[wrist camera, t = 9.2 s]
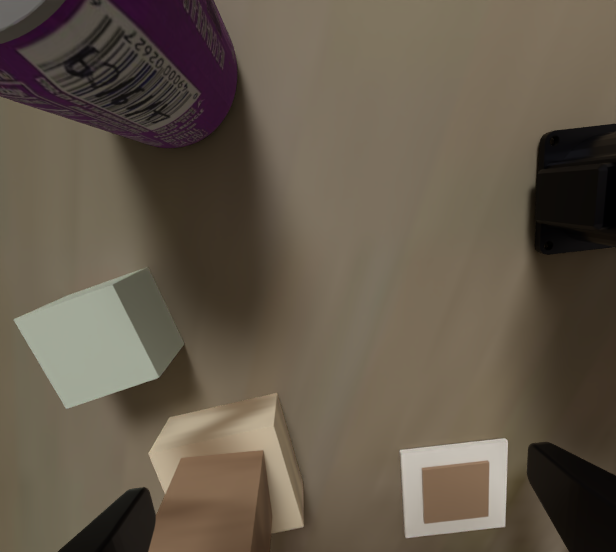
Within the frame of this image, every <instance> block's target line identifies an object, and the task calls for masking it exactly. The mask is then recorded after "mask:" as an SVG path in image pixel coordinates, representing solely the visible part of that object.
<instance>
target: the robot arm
mask: <svg viewBox="0 0 616 552" xmlns="http://www.w3.org/2000/svg"><path fill="white" fill-rule="evenodd" d="M551 137H552V138H553V139H554V143H553V145H551V144H550V139H551ZM535 220H536V234H535V249H536V250H537V252H539V253H542V254H547V255H549V254H558V253H566V252H575V251H584V250H593V249H602V248H611V247H616V124H609V125H600V126H592V127H583V128H574V129H565V130H556V131H552V132H548V133H546V134H544V135H543V136H542V138H541V140H540V148H539V169H538V174H537V187H536V209H535ZM546 242H548V247H547V248H544V245H545V243H546ZM527 476H528V479H529V482H530V484H531V486H532V488H533V489H534V491H535V493H536V495H537V496H538V498H539V500H540V502H541V503H542V505H543V507H544V509H545V510H546V512H547V514H548V516H549V517H550V519H551V521H552V523H553V524H554V526H555V528H556V530H557V531H558V533H559V535H560V537H561V539H562V540H563V542H564V544H565V545H566V547H567V549H568V550H569V552H616V476H615V475H613V474H611V473H609V472H607V471H605V470H603V469H601V468H599V467H597V466H595V465H593V464H591V463H589V462H587V461H585V460H583V459H581V458H580V457H578V456H576V455H574V454H572V453H570V452H568V451H566V450H564V449H562V448H560V447H558V446H556V445H554V444H552V443H549V442H539V443H532V444H530V445H529V447H528V460H527ZM155 523H156V515H155V510H154V507H153V503H152V499H151V495H150V492H149V490H148V489H147V488H145V487H143V488H134V489H129V490H128V491H126V492H125V493H124V494H123V495H122V496H120V497H119V498H118V499H117V500H116V501H115V502H114V503H113V504H111V505H110V506H109V507H108V508H107V509H106V510H105V511H103V512H102V513H101V514H100V515H99V516H98V517H97V518H95V519H94V520H93V521H92V522H91V523H90V524H89V525H87V526H86V527H85V528H84V529H83V530H82V531H81V532H80V533H78V534H77V535H76V536H75V537H74V538H73V539H72V540H70V541H69V542H68V543H67V544H66V545H65V546H64V547H62V548H61V549H60V550H59V551H58V552H148V551H149V547H150V544H151V540H152V536H153V532H154V529H155Z"/></svg>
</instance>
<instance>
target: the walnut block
mask: <svg viewBox="0 0 616 552" xmlns="http://www.w3.org/2000/svg"><path fill="white" fill-rule="evenodd" d="M271 530H272V509H271V502H270V494H269V487H268V480H267V473H266V465H265V458H264V451H263V450H258V451H247V452H237V453H226V454H216V455H206V456H196V457H185V458H181V459H180V462H179V464H178V466H177V469H176V471H175V473H174V475H173V478H172V480H171V482H170V485H169V487H168V489H167V491H166V494H165V496H164V498H163V501H162V503H161V505H160V508H159V510H158V512H157V514H156V523H155V529H154V532H153V536H152V540H151V544H150V547H149V551H148V552H270V543H271Z"/></svg>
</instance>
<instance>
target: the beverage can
mask: <svg viewBox="0 0 616 552" xmlns="http://www.w3.org/2000/svg"><path fill="white" fill-rule="evenodd" d="M236 86H237V62H236V56H235V51H234V47H233V44H232V41H231V39H230V36H229V34H228V32H227V30H226V27H225V25H224V23H223V20H222V18H221V16H220V14H219V11H218V9H217V7H216V5H215V2H214V0H0V96H1V97H4V98H7V99H10V100H13V101H16V102H19V103H22V104H25V105H28V106H31V107H34V108H37V109H40V110H43V111H47V112H50V113H53V114H56V115H59V116H62V117H65V118H68V119H71V120H74V121H77V122H80V123H83V124H86V125H89V126H93V127H96V128H99V129H102V130H105V131H108V132H111V133H114V134H117V135H120V136H123V137H126V138H129V139H132V140H135V141H139V142H142V143H145V144H148V145H151V146H155V147H161V148H178V147H184V146H188V145H191V144H194V143H196V142H198V141H200V140H202V139H204V138H205V137H207V136H208V135H210V134H211V133H212V132H213V131H214V130H215V129H216V128H217V127H218V126H219V125H220V124H221V122H222V121H223V120H224V118H225V117H226V115H227V113H228V111H229V109H230V107H231V105H232V102H233V99H234V96H235V92H236Z"/></svg>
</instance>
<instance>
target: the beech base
mask: <svg viewBox="0 0 616 552" xmlns="http://www.w3.org/2000/svg"><path fill="white" fill-rule="evenodd" d="M258 450H263V451H264V458H265V465H266V473H267V480H268V487H269V494H270V502H271V509H272V530H271V534H273V533H277V532H282V531H287V530H291V529H296V528H301V527H304V499H303V480H302V477H301V473H300V470H299V466H298V463H297V460H296V456H295V453H294V449H293V446H292V442H291V439H290V435H289V432H288V428H287V425H286V422H285V418H284V415H283V411H282V408H281V404H280V401H279V397H278V394H277V393H274V394H270V395H266V396H261V397H257V398H252V399H248V400H243V401H239V402H235V403H230V404H226V405H221V406H217V407H213V408H208V409H204V410H199V411H195V412H191V413H186V414H182V415H177V416H173V417H169V419H168V421H167V422H166V424H165V426H164V428H163V429H162V431H161V433H160V434H159V436H158V438H157V440H156V441H155V443H154V445H153V447H152V448H151V450H150V452H149V453H148V454H149V456H150V459H151V461H152V463H153V466H154V468H155V471H156V473H157V476H158V478H159V481H160V483H161V485H162V488H163V490H164V493H165V494H166V491H167V489H168V487H169V485H170V482H171V480H172V478H173V475H174V473H175V471H176V469H177V466H178V464H179V462H180V459H181V458H185V457H196V456H206V455H216V454H226V453H237V452H247V451H258Z"/></svg>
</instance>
